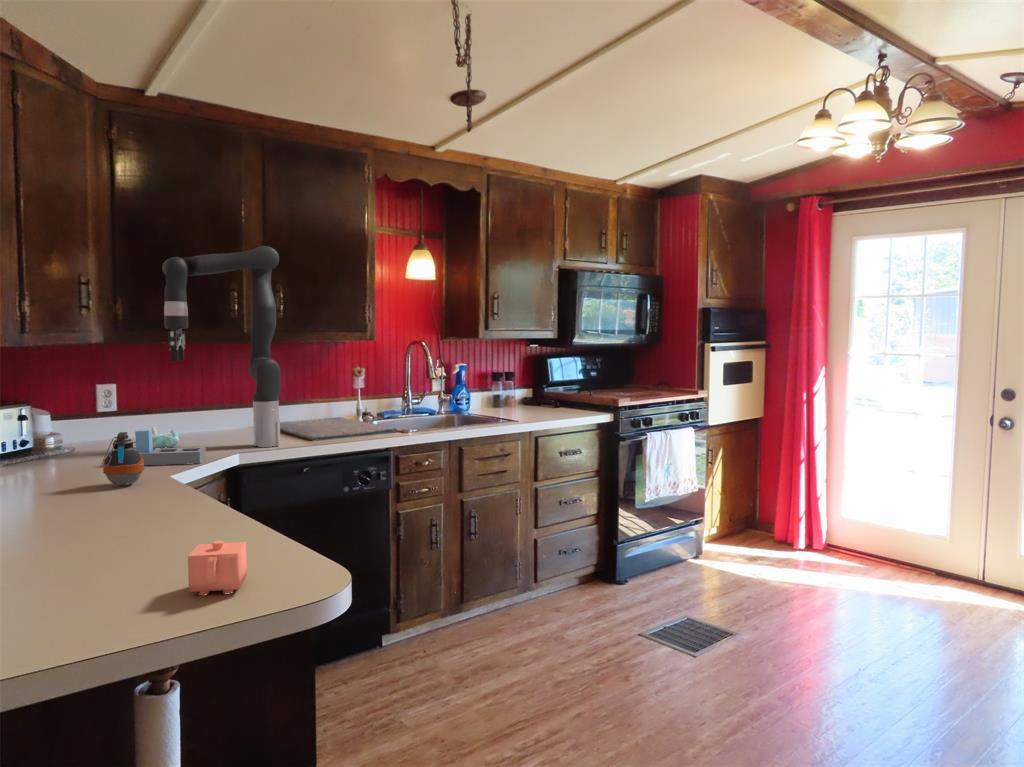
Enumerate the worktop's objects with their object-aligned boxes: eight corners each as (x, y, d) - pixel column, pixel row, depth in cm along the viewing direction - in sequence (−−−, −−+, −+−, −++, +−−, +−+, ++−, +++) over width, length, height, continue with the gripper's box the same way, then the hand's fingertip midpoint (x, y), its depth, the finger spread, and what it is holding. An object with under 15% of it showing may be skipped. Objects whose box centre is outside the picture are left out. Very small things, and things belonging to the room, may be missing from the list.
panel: (206, 458, 243) (205, 447, 243) (200, 463, 234) (199, 451, 233) (136, 461, 238) (135, 449, 238) (126, 466, 229) (126, 454, 228)
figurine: (163, 425, 286) (188, 429, 264) (165, 440, 286) (190, 446, 264) (127, 432, 277) (150, 437, 255) (129, 447, 278) (153, 454, 256)
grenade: (106, 483, 204) (104, 431, 202) (146, 480, 207) (144, 429, 206) (99, 491, 193) (97, 436, 192) (141, 488, 197) (140, 434, 196)
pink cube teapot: (250, 575, 127) (249, 530, 127) (236, 600, 115) (235, 550, 115) (204, 577, 126) (202, 532, 125) (185, 603, 114) (183, 552, 114)
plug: (153, 462, 237) (152, 429, 236) (149, 464, 233) (148, 430, 232) (140, 462, 236) (138, 429, 235) (136, 464, 232) (135, 431, 231)
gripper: (182, 314, 244) (184, 361, 245) (192, 315, 258) (193, 360, 259) (159, 314, 242) (160, 361, 243) (169, 315, 256) (171, 360, 257)
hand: (177, 360), depth 251 cm, fingers open, 8 cm apart
